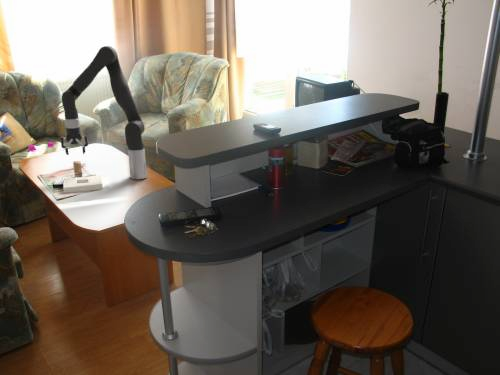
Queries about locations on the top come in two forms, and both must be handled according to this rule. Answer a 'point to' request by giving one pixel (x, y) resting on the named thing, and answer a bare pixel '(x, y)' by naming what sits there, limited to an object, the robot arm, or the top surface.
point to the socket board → (82, 184)
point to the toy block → (32, 148)
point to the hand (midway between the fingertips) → (75, 154)
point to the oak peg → (77, 169)
